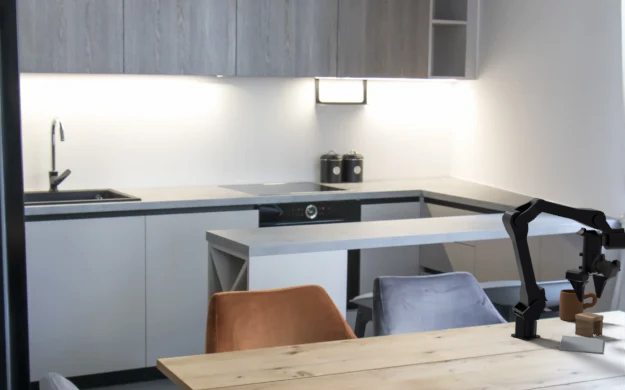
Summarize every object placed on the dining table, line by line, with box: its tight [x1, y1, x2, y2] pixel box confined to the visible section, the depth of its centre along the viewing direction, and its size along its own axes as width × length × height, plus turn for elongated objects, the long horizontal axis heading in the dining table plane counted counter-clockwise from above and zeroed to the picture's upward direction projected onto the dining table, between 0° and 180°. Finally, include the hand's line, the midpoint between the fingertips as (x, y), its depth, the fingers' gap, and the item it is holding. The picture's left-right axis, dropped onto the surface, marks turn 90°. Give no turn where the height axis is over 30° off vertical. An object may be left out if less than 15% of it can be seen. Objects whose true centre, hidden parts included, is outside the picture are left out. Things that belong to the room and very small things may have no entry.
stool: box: [574, 311, 605, 338], centre depth 286 cm, size 6×6×6 cm
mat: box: [558, 334, 605, 355], centre depth 274 cm, size 16×12×1 cm
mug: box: [558, 288, 598, 323], centre depth 305 cm, size 12×8×9 cm, turn 83°
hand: (589, 300), depth 285 cm, fingers open, 9 cm apart
